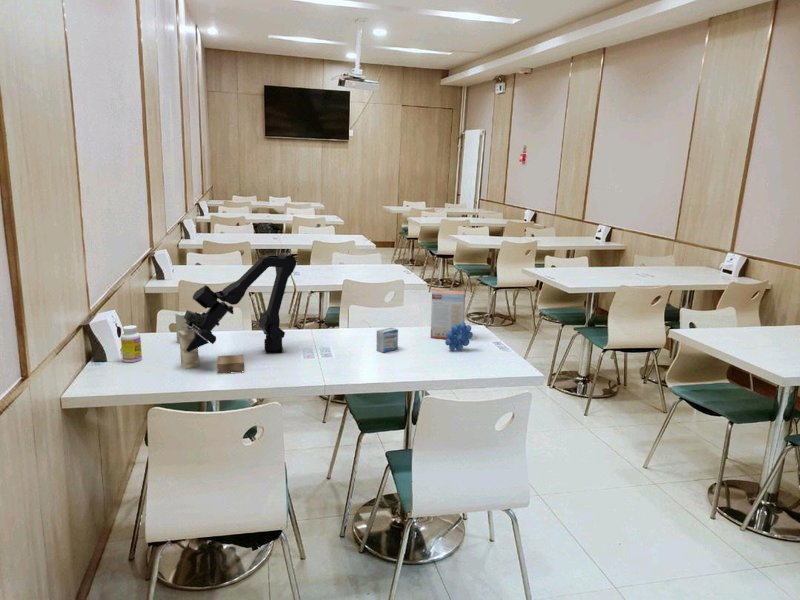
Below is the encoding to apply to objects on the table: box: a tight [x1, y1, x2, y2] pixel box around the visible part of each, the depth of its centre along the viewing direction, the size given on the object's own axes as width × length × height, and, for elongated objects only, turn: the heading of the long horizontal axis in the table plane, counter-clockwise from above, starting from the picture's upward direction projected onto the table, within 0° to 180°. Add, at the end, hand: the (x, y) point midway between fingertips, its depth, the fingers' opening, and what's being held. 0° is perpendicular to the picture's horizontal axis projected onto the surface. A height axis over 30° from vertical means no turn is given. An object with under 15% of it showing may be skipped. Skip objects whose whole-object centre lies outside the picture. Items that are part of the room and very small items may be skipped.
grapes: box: [444, 321, 474, 351], centre depth 240 cm, size 12×7×12 cm, turn 103°
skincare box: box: [174, 311, 189, 344], centre depth 242 cm, size 6×4×12 cm
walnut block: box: [216, 354, 245, 374], centre depth 213 cm, size 9×9×4 cm
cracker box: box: [430, 289, 466, 340], centre depth 255 cm, size 14×6×21 cm, turn 77°
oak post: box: [179, 329, 200, 370], centre depth 214 cm, size 5×5×13 cm
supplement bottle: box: [120, 324, 143, 363], centre depth 219 cm, size 7×7×13 cm
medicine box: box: [376, 327, 399, 354], centre depth 238 cm, size 8×4×9 cm, turn 131°
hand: (185, 349), depth 213 cm, fingers closed on oak post, 5 cm apart
